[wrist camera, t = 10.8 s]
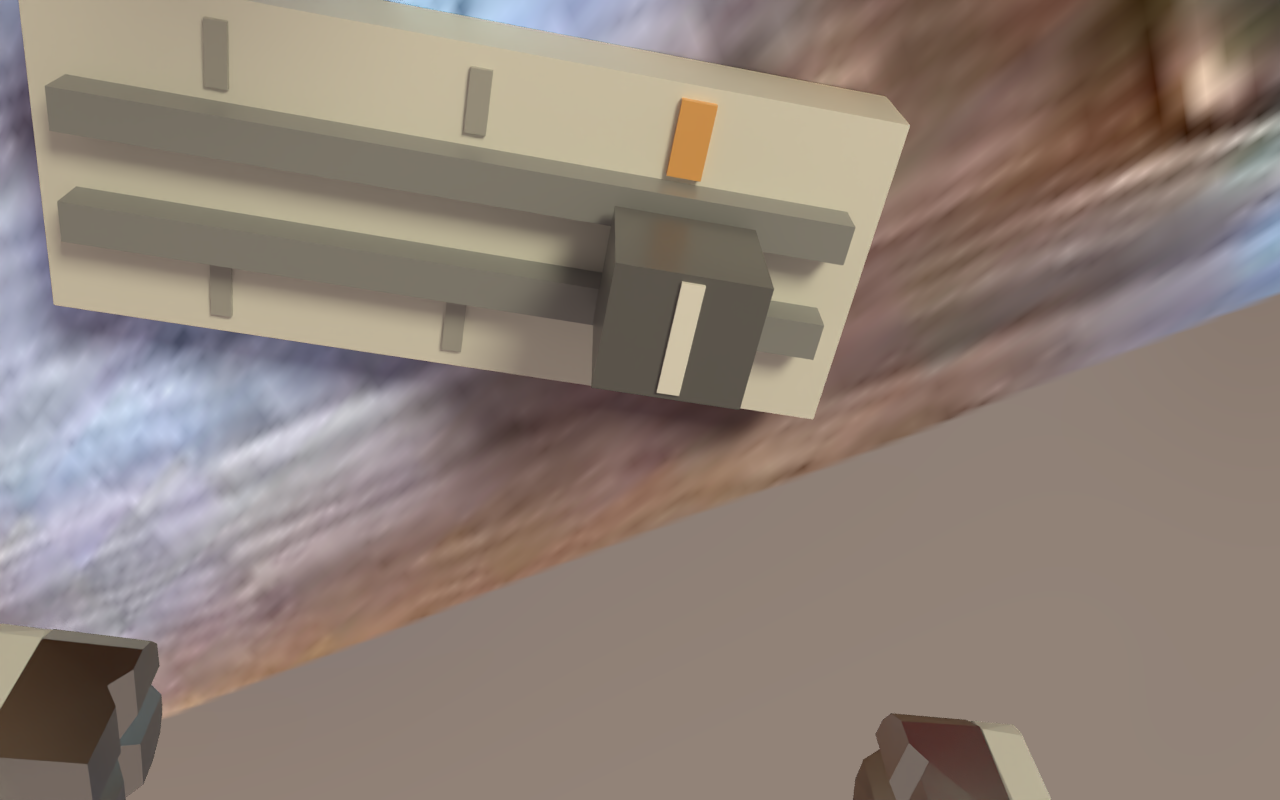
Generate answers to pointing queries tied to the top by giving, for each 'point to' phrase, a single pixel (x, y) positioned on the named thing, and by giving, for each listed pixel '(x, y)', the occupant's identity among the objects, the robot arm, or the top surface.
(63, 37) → the fader console
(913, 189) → the top surface
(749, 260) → the fader tab
